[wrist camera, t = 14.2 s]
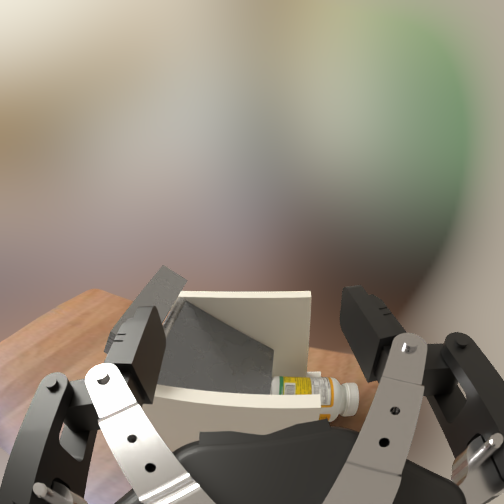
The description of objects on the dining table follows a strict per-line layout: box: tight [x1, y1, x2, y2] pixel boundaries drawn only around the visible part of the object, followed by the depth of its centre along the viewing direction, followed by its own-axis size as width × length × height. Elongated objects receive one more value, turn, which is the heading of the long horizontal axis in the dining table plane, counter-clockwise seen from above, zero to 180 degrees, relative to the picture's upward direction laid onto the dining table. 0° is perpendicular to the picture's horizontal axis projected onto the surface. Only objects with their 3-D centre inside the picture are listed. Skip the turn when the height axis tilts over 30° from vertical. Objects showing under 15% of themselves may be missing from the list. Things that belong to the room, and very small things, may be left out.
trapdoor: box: [104, 265, 274, 395], centre depth 25 cm, size 16×12×4 cm
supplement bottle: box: [270, 376, 359, 422], centre depth 28 cm, size 5×5×10 cm
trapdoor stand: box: [142, 291, 321, 452], centre depth 27 cm, size 18×15×14 cm
